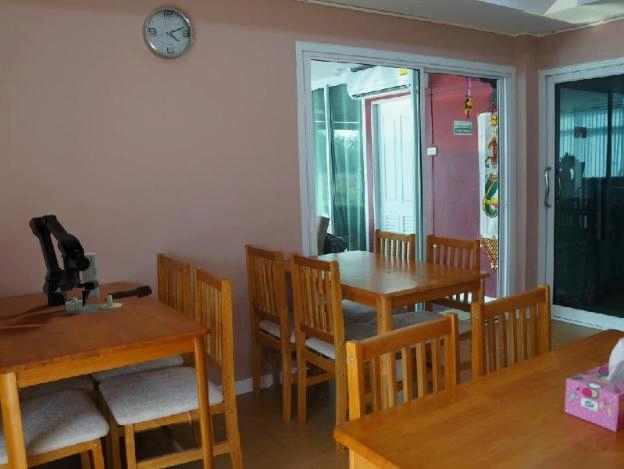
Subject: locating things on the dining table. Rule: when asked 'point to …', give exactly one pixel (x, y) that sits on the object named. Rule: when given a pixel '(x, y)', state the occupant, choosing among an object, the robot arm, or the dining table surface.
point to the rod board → (96, 307)
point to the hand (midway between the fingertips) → (75, 307)
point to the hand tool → (132, 292)
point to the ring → (74, 305)
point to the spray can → (91, 274)
